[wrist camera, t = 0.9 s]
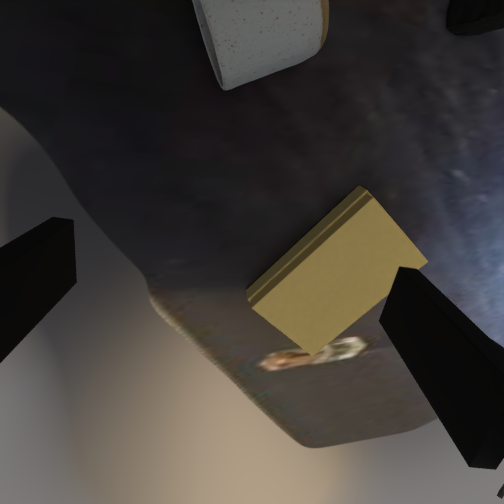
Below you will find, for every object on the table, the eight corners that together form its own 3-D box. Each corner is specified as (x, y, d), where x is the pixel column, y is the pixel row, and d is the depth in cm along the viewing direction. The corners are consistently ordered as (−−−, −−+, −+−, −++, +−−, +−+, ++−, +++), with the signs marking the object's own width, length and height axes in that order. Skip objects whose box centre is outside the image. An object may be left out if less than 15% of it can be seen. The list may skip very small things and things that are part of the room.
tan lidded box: (358, 184, 33) (374, 193, 30) (412, 247, 37) (431, 261, 34) (245, 290, 37) (248, 308, 34) (304, 338, 40) (312, 358, 37)
